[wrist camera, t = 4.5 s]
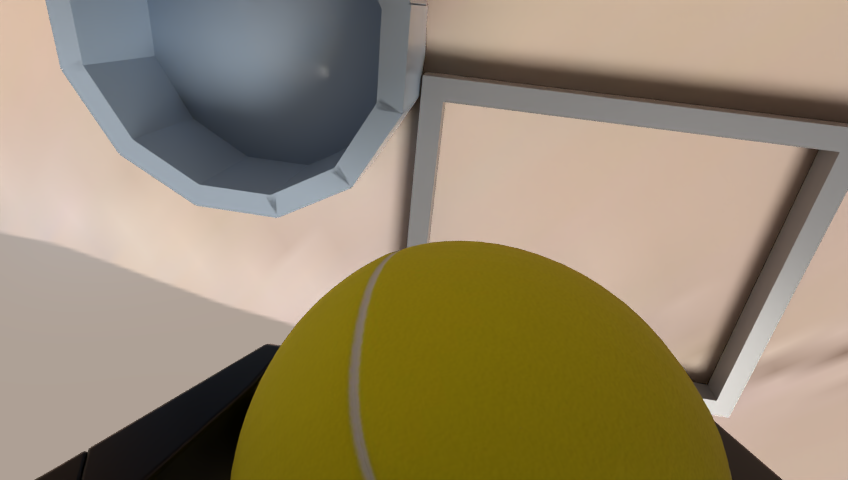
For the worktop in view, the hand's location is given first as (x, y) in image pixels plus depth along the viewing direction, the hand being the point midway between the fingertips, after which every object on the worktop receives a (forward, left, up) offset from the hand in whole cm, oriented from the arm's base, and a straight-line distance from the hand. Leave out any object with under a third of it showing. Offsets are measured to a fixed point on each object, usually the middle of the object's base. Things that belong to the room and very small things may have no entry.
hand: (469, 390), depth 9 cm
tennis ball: (0, 0, -2) cm, 2 cm away
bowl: (+8, -5, -11) cm, 15 cm away
